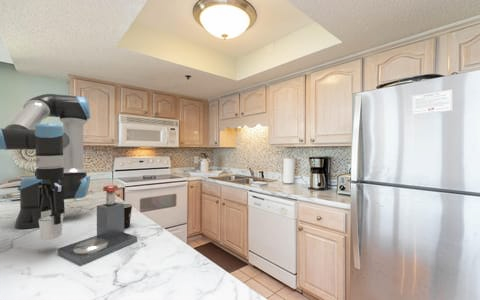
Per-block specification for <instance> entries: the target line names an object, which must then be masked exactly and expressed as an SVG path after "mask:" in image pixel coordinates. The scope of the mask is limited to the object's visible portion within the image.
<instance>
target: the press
mask: <svg viewBox="0 0 480 300" xmlns="http://www.w3.org/2000/svg"><path fill="white" fill-rule="evenodd" d="M124 204H125V203H121V202H117V201H115V205H113V206H106V203H101V204H98V205H96V235H94V236H92V237H87V238H85V239H83V240H82V239H81V240H80V241H75V242H73V243H70V244H68V245H64V246H62V247H58V248H57V255H58V256H60V257H61V258H64V259H66V260H67V261H70V262H71V263H75V264H76V265H78V266H84V265H87V264H88V263H91V262H93V261H95V260H98V259H100V258H102V257H105V256H107V255H108V254H112V253H114V252H116V251H119V250H121V249H123V248H126V247H127V246H131V245H132V244H135V243H137V242H138V236H137V235H133V234H130V233H126V232H125V229H124Z"/></svg>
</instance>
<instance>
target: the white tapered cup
mask: <svg viewBox="0 0 480 300" xmlns="http://www.w3.org/2000/svg"><path fill="white" fill-rule="evenodd" d="M63 223H64V215H63V214H61V232H59V233H55V234H51V217H50V215H48V216H44V217H42V218H40V219H39V227H38V228H39V233H40V239H41V240H44V241H47V240H48V241H49V240H53V239H56V238H60V237H61V236H62V234H63V233H62V232H63V226H64V225H63Z"/></svg>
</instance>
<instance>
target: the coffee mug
mask: <svg viewBox="0 0 480 300" xmlns="http://www.w3.org/2000/svg"><path fill="white" fill-rule="evenodd" d="M123 204H124V230H126V229H128V228H130V227H131V226H130V225H131V217H132V210H133V204H132V203H123Z"/></svg>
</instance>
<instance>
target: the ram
mask: <svg viewBox="0 0 480 300" xmlns="http://www.w3.org/2000/svg"><path fill="white" fill-rule="evenodd" d="M102 188H103V189H102V190H103V192H105V193H106V194H105V195H106V201H105V202H106V203H105V204H106V206H113V205H115V202H116V191H117V190H119V189H118V188H119V187H118V185H117V184H116V185H115V184H114V185H113V184H112V185H110V184H109V185H104V186H103V187H102Z"/></svg>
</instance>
